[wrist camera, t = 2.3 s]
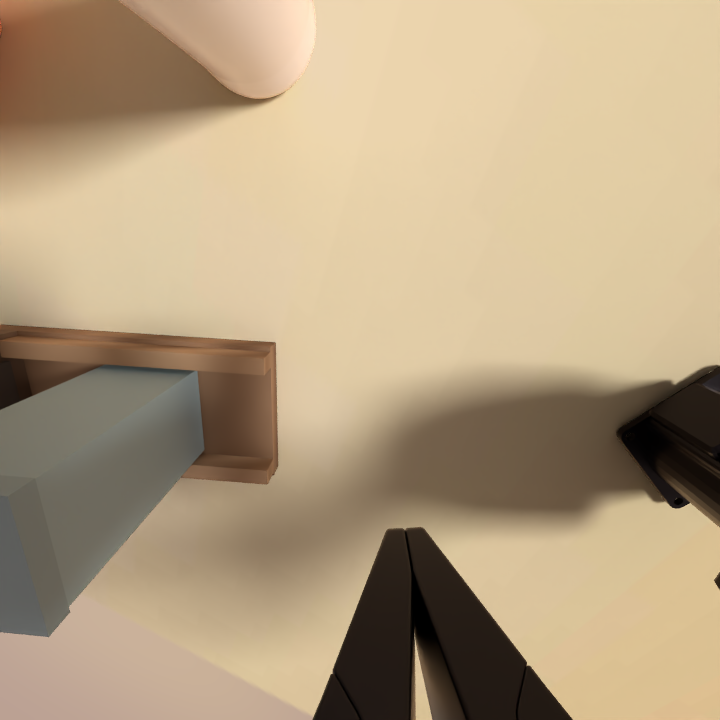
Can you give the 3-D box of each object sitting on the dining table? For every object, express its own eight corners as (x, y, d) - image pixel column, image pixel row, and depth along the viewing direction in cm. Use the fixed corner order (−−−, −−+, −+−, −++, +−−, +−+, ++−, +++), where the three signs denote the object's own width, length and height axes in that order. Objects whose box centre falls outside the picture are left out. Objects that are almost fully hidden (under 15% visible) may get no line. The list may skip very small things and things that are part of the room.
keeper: (198, 367, 20) (8, 496, 10) (206, 451, 21) (48, 636, 11) (106, 361, 20) (-177, 480, 10) (120, 444, 22) (-111, 621, 11)
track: (275, 342, 20) (198, 413, 12) (278, 465, 23) (215, 599, 14) (1, 324, 21) (-263, 380, 12) (32, 446, 23) (-170, 563, 15)
